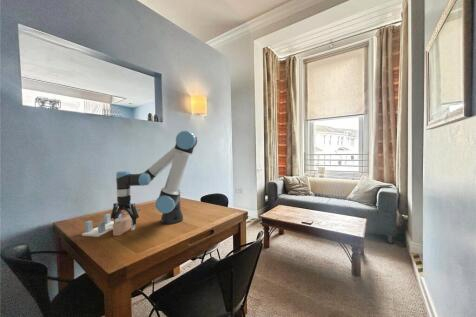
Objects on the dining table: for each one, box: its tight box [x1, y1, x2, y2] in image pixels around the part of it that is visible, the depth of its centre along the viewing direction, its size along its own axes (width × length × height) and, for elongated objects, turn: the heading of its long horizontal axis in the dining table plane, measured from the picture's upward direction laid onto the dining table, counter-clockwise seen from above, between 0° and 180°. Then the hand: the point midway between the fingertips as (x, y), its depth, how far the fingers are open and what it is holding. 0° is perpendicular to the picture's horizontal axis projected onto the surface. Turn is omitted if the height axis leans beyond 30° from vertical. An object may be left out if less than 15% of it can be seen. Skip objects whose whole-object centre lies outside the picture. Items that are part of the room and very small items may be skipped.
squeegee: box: [110, 208, 141, 219], centre depth 163 cm, size 29×2×10 cm
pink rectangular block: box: [112, 214, 137, 237], centre depth 129 cm, size 4×18×7 cm, turn 179°
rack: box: [81, 213, 123, 238], centre depth 130 cm, size 11×22×7 cm, turn 170°
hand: (125, 229), depth 129 cm, fingers open, 11 cm apart
